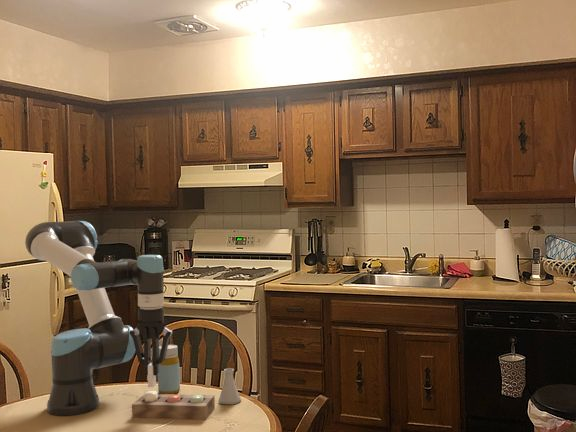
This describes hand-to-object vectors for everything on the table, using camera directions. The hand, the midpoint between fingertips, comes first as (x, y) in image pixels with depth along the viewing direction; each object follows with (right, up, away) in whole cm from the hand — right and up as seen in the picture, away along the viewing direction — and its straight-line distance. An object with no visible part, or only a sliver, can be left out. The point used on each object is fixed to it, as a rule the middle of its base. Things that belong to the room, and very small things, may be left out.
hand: (152, 385), depth 184 cm
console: (+7, -8, -1) cm, 11 cm away
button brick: (+7, -6, -1) cm, 9 cm away
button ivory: (0, -6, 0) cm, 6 cm away
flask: (+22, -8, +8) cm, 25 cm away
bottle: (+1, -8, +20) cm, 21 cm away
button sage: (+14, -6, -2) cm, 15 cm away
